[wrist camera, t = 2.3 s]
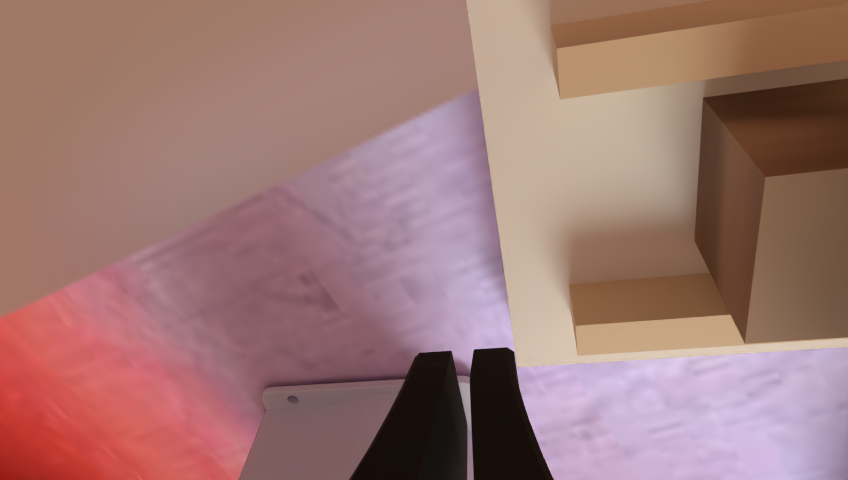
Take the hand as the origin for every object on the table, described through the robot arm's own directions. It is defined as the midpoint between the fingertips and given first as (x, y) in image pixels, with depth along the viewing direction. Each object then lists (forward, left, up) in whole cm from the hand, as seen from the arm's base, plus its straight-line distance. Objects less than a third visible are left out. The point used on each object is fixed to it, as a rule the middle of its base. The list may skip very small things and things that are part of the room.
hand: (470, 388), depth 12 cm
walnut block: (+8, 0, -8) cm, 11 cm away
